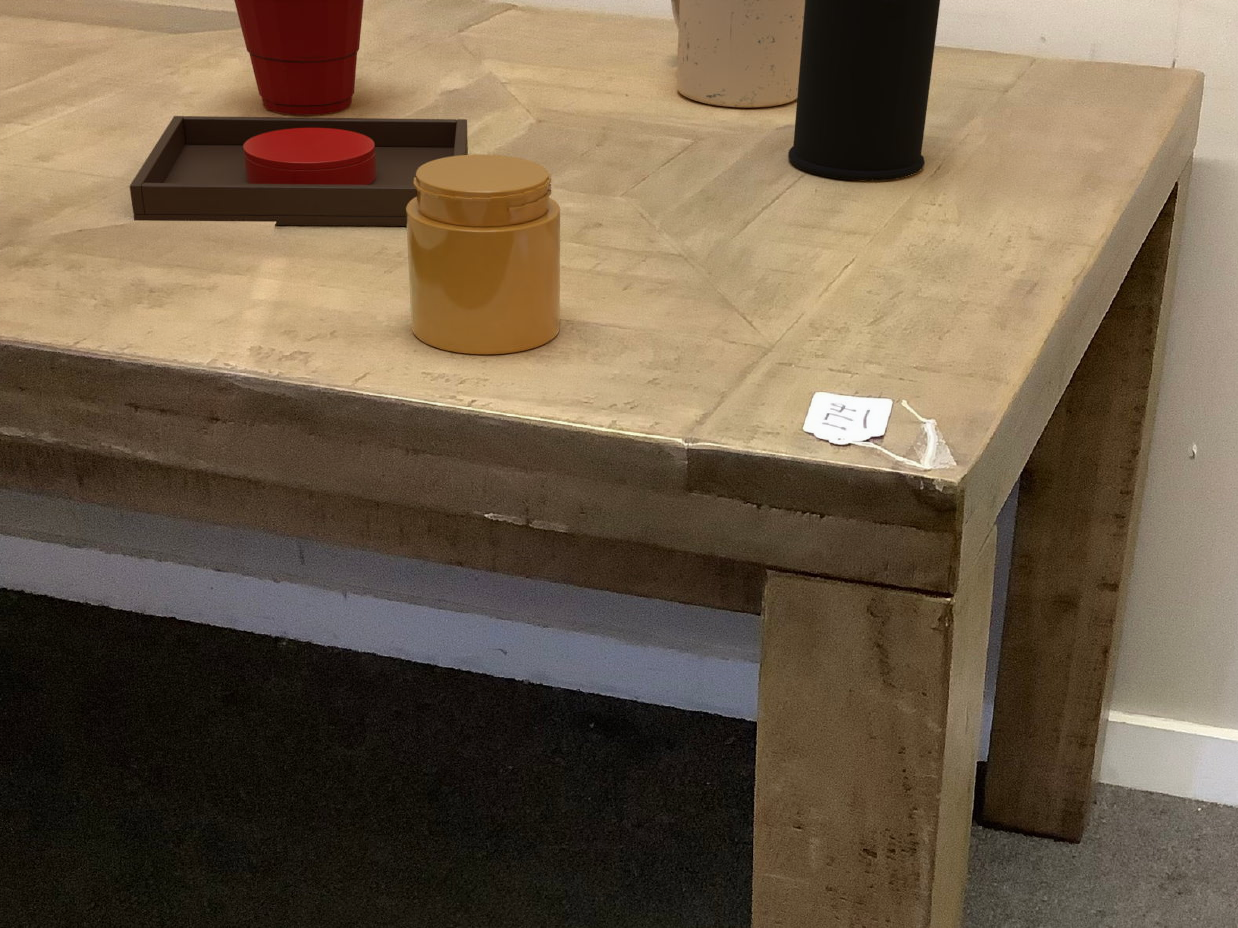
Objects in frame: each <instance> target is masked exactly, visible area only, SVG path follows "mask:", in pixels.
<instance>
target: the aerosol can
mask: <svg viewBox="0 0 1238 928" xmlns="http://www.w3.org/2000/svg"><path fill="white" fill-rule="evenodd" d="M940 4H941V0H805V8H804V21H803V33H802V46H801V58H800V70H799V83H798V95H797V99H796V108H795V121H794V131H793V132H794V134H793V145H792V146H791V147H790V148H789V150H788V152H787V157H788V159H789V161H790V163H791V164H792V165H793V166H795V167H796V168H798V169H800V170H802V171H805V172H808V173H811V174H812V175H817V176H821V177H826V178H831V179H838V180H839V179H840V180H849V181H862V180H865V181H870V180H873V181H874V182H875V181H876V182H877V181H890V180H897V179H896V178H899V179H903V178H906V177H905V176H908V175H911V174H913V175H915V174H914V173H916V174H917V173H918V171H919V170H920V169H921V170H922V169H923V168H924V166H925V164H926V163H925V158H924V156H923V155H922V152H923V145H924V134H925V127H926V126H925V125H926V120H927V119H926V118H927V112H928V111H927V110H928V103H929V95H930V86H931V79H932V78H931V77H932V72H933V71H932V69H933V62H934V55H935V48H936V47H935V46H936V39H937V30H938V23H939V22H938V21H939V13H940V7H941V6H940ZM921 170H920V171H921ZM920 171H919V172H920ZM911 176H912V175H911ZM902 177H903V178H902ZM908 177H909V176H908ZM873 181H872V182H873ZM870 182H871V181H870Z"/></svg>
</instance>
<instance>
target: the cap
mask: <svg viewBox="0 0 1238 928" xmlns="http://www.w3.org/2000/svg"><path fill="white" fill-rule="evenodd" d="M243 149H244V159H245V168H246V178H247V181H248V183H249V184H323V185H370V184H371V183H373V182H374V181H375V179H376V159H375V144H374V141H373V140H372V139H370V138H369V137H367V136H365V135H362V134H360V133H356V132H352V131H347V130H341V129H331V128H293V129H284V130H277V131H271V132H267V133H263V134H260V135H257V136H254V137H252V138H250V139H249V140H247V141H246V142H245V143H244V146H243Z"/></svg>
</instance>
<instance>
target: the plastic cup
mask: <svg viewBox="0 0 1238 928" xmlns="http://www.w3.org/2000/svg"><path fill="white" fill-rule="evenodd" d="M233 1H234V4H235V9H236V13H237V16H238V20H239V24H240V28H241V32H242V36H243V40H244V44H245V48H246V51H247V53H248V54H249V57H250V62H251V66H252V71H253V74H254V79H255V83H256V87H257V92H258V95H259V96H260V97H261V100H262V101H261V102H262V106H264V108H265V109H266V110H269V111H271V112H274V113H278V114H283V115H284V114H285V115H291V116H319V115H320V116H321V115H327V114H332V113H338V112H342V111H345V110H347V109H349V108H351V105H352V102H353V95H354V93H355V87H356V86H355V85H356V73H357V62H358V61H357V60H358V52H359V50H360V44H361V32H362V23H363V12H364V9H363V8H364V0H233Z"/></svg>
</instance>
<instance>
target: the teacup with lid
mask: <svg viewBox="0 0 1238 928" xmlns="http://www.w3.org/2000/svg"><path fill="white" fill-rule="evenodd" d="M670 3H671V11H672V15H673V19H674V23H675V25H676V28H677V30H678V37H677V56H676V57H677V60H676V62H677V63H676V89H677V91H678V92H679V93H680V94H681V95H682V96H684V97H685V98H687V99H689V100H692V101H695V102H697V103H702V104H706V105H713V106H719V107H727V108H767V107H768V108H769V107H775V106H781V105H786V104H788V103H791V102H793V101H795V100H797V95H798V83H799V70H800V58H801V46H802V33H803V21H804V8H805V0H670Z"/></svg>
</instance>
